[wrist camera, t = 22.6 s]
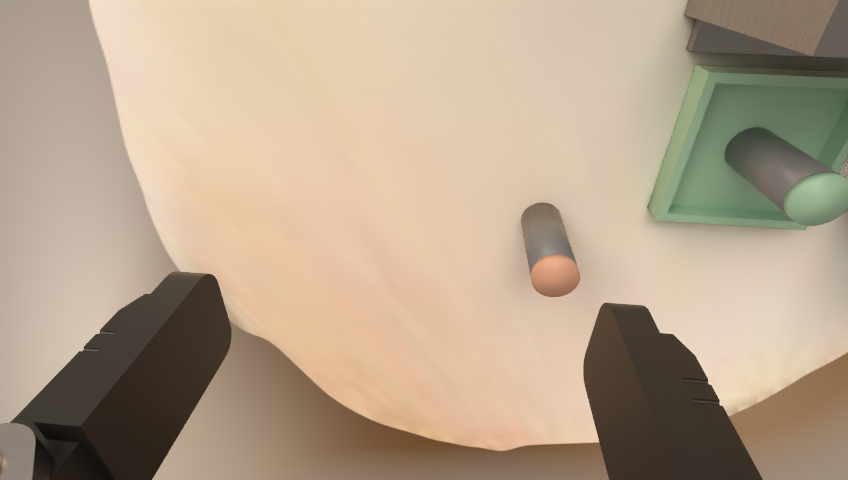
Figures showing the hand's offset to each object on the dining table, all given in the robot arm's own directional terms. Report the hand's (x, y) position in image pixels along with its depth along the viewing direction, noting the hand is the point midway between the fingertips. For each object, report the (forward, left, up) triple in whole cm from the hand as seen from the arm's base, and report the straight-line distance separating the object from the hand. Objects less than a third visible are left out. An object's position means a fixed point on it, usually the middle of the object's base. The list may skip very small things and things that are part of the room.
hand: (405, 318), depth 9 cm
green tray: (+8, +27, -34) cm, 44 cm away
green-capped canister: (+8, +27, -34) cm, 44 cm away
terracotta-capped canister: (+17, +10, -34) cm, 39 cm away
